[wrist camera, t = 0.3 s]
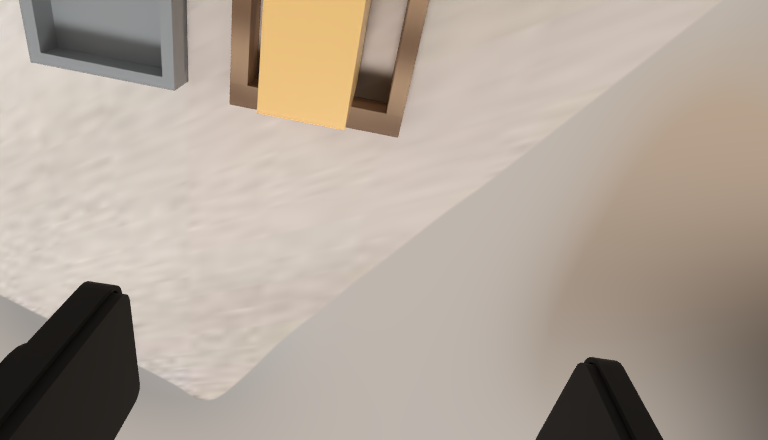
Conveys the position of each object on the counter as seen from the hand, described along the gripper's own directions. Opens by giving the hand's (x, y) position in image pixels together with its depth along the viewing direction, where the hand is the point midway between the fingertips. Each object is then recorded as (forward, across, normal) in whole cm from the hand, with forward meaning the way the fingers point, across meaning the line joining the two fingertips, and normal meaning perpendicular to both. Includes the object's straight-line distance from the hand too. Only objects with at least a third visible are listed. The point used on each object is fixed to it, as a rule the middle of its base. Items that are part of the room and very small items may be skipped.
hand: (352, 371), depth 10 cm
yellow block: (+28, +4, -3) cm, 29 cm away
